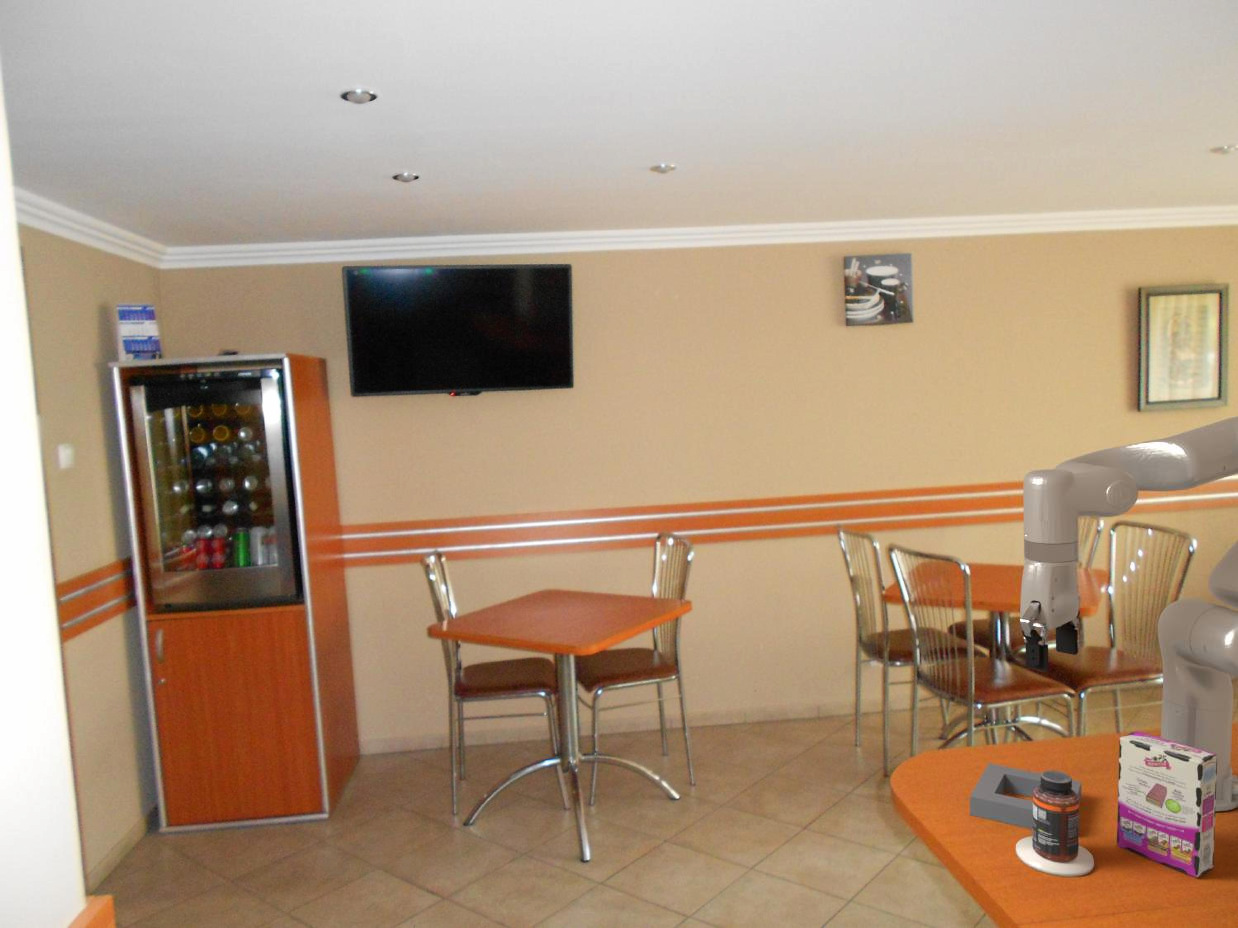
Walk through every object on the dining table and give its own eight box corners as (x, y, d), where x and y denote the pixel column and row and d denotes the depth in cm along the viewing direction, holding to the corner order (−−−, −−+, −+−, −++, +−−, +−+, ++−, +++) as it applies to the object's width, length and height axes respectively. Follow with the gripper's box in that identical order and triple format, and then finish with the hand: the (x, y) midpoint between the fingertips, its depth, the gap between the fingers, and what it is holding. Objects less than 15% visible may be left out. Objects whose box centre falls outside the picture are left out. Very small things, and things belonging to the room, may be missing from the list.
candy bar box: (1215, 868, 127) (1220, 753, 125) (1197, 879, 124) (1202, 762, 122) (1132, 835, 136) (1136, 728, 134) (1114, 845, 133) (1117, 736, 131)
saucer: (1097, 850, 132) (1097, 846, 132) (1089, 884, 123) (1089, 879, 123) (1022, 833, 137) (1022, 829, 137) (1009, 863, 129) (1009, 859, 129)
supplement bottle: (1080, 848, 131) (1082, 772, 130) (1076, 867, 126) (1078, 788, 125) (1034, 838, 134) (1036, 763, 133) (1029, 856, 129) (1031, 779, 128)
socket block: (1081, 799, 147) (1081, 781, 147) (1068, 837, 136) (1069, 818, 135) (988, 780, 155) (988, 762, 155) (969, 814, 143) (969, 796, 143)
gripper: (1052, 539, 148) (1054, 642, 150) (998, 558, 137) (1000, 669, 139) (1101, 544, 142) (1102, 651, 144) (1048, 564, 131) (1050, 680, 133)
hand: (1052, 660), depth 141 cm, fingers open, 9 cm apart
